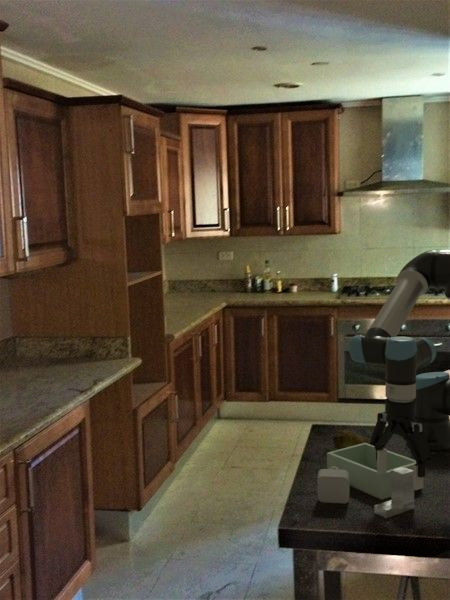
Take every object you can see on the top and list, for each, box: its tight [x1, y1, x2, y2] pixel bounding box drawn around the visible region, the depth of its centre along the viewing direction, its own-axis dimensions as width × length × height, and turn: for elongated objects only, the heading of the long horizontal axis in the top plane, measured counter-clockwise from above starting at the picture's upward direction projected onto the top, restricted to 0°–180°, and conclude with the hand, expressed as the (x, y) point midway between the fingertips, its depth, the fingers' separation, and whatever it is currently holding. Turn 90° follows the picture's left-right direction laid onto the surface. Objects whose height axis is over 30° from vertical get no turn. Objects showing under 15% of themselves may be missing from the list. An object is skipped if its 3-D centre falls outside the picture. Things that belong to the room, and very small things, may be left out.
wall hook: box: [316, 466, 350, 504], centre depth 196 cm, size 8×10×10 cm
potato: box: [332, 429, 371, 450], centre depth 228 cm, size 8×13×8 cm, turn 83°
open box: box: [326, 443, 416, 500], centre depth 206 cm, size 15×22×7 cm
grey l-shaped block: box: [374, 467, 415, 519], centre depth 185 cm, size 10×4×10 cm, turn 123°
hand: (399, 481), depth 186 cm, fingers open, 12 cm apart
